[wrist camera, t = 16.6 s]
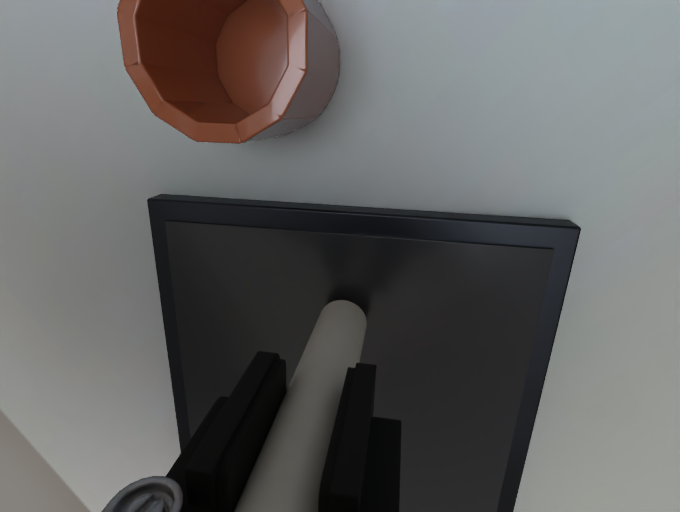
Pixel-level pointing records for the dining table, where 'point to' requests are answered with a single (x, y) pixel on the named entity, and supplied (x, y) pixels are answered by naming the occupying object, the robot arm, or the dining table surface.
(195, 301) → the tablet
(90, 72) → the dining table surface
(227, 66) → the pen cup
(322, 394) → the stylus
